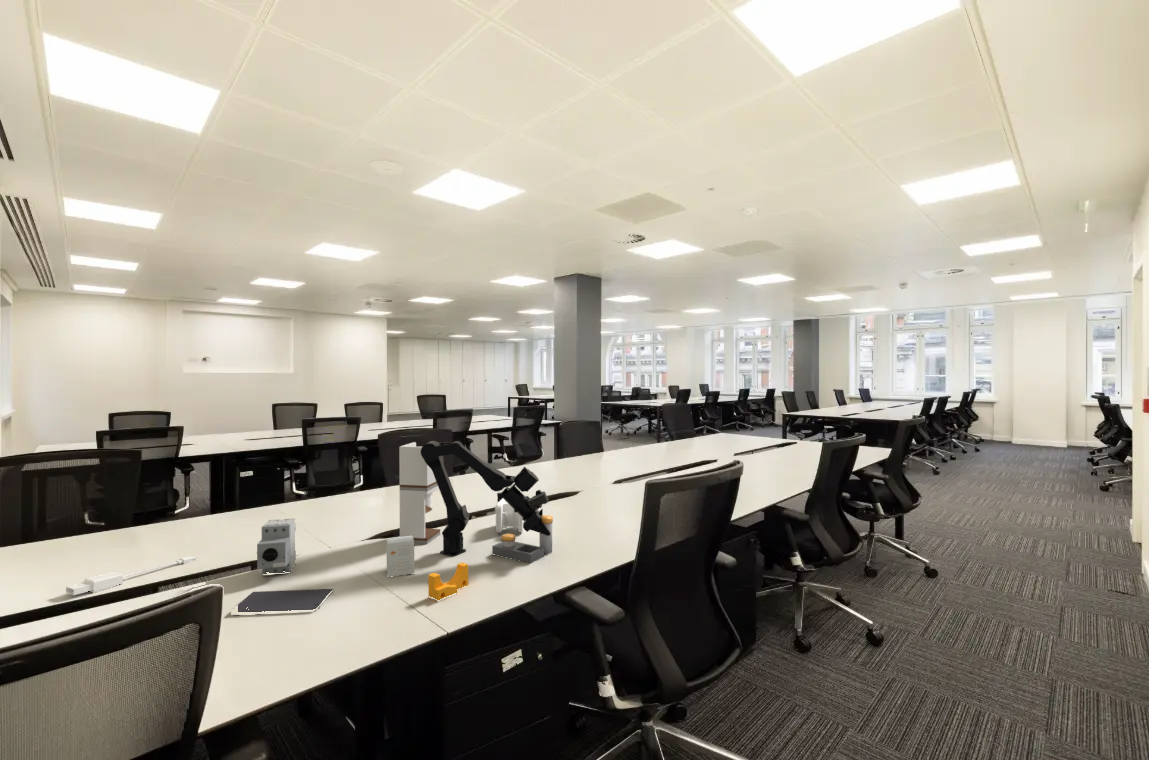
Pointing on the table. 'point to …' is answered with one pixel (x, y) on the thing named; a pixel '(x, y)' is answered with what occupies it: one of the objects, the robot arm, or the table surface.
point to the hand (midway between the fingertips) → (549, 532)
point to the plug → (544, 539)
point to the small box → (400, 556)
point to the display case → (415, 494)
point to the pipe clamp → (450, 587)
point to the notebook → (283, 600)
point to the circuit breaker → (277, 546)
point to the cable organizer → (507, 517)
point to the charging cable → (112, 579)
